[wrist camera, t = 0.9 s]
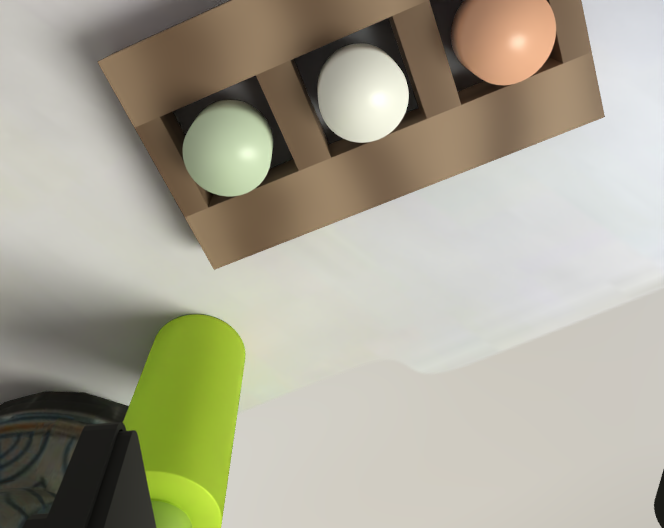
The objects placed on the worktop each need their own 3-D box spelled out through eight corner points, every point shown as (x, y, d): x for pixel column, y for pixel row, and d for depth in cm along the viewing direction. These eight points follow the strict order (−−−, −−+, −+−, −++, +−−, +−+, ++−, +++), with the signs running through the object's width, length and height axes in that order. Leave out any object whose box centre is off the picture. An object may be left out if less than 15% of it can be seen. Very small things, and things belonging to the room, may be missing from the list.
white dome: (384, 29, 30) (391, 35, 27) (412, 110, 32) (420, 122, 29) (303, 64, 30) (303, 72, 28) (335, 141, 32) (338, 155, 30)
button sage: (251, 86, 31) (247, 96, 28) (286, 162, 32) (285, 177, 30) (176, 119, 31) (166, 131, 29) (214, 191, 33) (207, 208, 31)
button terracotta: (525, -32, 29) (544, -31, 27) (545, 55, 31) (565, 63, 28) (439, 5, 29) (450, 9, 27) (464, 88, 31) (477, 99, 29)
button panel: (532, -138, 28) (552, -145, 26) (584, 105, 34) (604, 116, 31) (112, 54, 31) (97, 61, 29) (219, 250, 37) (213, 269, 34)
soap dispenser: (122, 332, 39) (-31, 655, 21) (226, 303, 38) (159, 611, 20) (159, 402, 41) (51, 743, 24) (257, 377, 41) (222, 707, 23)
